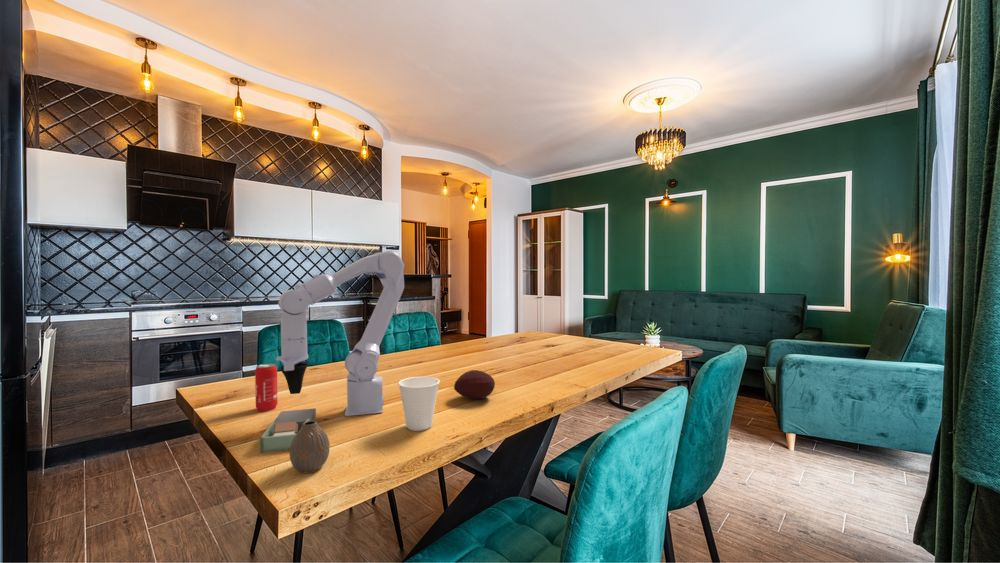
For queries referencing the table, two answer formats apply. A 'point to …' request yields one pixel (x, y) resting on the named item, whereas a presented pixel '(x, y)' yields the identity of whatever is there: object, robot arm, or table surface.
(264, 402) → the beverage can
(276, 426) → the tile terracotta
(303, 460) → the vase
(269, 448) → the box
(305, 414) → the ledge
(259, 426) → the table surface
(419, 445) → the table surface
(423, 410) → the cup
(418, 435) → the table surface
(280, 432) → the tile ivory
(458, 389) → the dark brown oval lump
